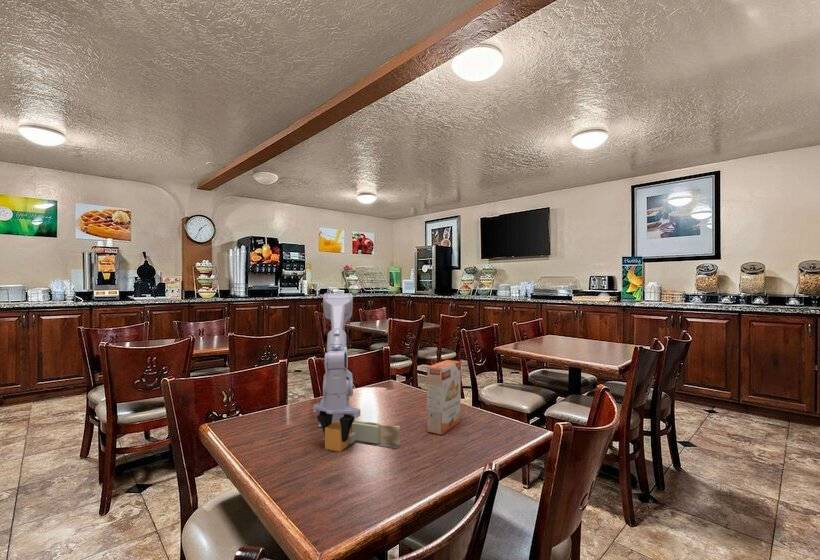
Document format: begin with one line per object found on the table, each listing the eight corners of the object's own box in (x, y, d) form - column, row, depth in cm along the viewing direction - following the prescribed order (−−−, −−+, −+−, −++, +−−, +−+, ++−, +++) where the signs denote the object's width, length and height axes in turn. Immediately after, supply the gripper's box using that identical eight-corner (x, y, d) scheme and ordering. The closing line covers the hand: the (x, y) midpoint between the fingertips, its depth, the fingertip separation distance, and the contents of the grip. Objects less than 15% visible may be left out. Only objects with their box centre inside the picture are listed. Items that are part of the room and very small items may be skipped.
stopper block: (324, 449, 109) (324, 427, 109) (336, 440, 115) (336, 420, 115) (340, 451, 107) (340, 430, 107) (350, 443, 113) (350, 422, 113)
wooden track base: (339, 440, 115) (339, 421, 115) (344, 436, 118) (344, 418, 118) (396, 449, 109) (396, 429, 109) (400, 445, 111) (400, 426, 112)
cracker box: (443, 436, 118) (442, 368, 118) (426, 432, 121) (425, 366, 121) (461, 422, 130) (461, 360, 130) (445, 419, 133) (445, 359, 133)
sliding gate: (346, 443, 111) (346, 427, 111) (353, 438, 115) (353, 422, 115) (373, 447, 108) (373, 430, 108) (379, 442, 112) (379, 425, 112)
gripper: (306, 393, 109) (306, 441, 109) (351, 398, 104) (351, 448, 104) (321, 387, 116) (321, 432, 116) (363, 391, 111) (363, 438, 110)
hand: (336, 439), depth 110 cm, fingers closed on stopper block, 5 cm apart
